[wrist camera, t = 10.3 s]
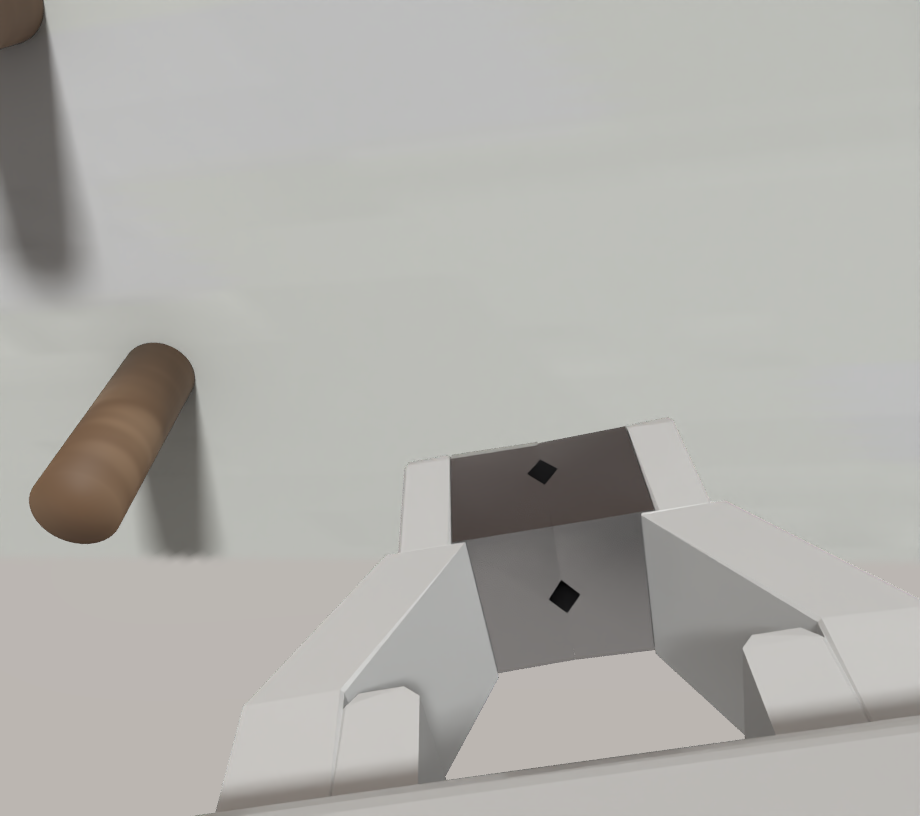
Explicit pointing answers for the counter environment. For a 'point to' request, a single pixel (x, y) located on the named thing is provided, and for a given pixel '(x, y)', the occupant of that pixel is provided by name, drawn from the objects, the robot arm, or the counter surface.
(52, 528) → the post
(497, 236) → the counter surface
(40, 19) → the post
